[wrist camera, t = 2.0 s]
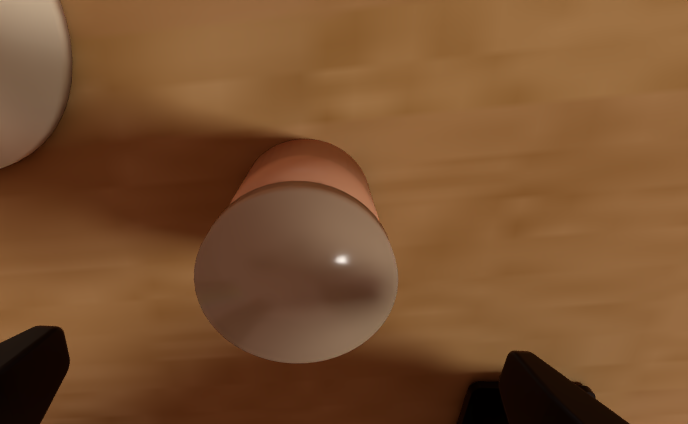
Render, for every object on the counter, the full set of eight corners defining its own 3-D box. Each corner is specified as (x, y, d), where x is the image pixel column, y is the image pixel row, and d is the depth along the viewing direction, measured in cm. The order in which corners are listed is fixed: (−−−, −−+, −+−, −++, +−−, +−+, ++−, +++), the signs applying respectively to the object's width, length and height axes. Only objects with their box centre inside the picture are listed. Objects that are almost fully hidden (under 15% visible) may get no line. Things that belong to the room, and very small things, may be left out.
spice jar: (363, 262, 17) (382, 367, 11) (239, 254, 16) (198, 358, 11) (381, 143, 14) (414, 201, 9) (239, 129, 14) (188, 182, 9)
